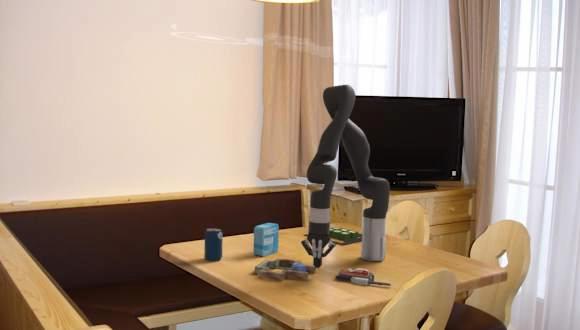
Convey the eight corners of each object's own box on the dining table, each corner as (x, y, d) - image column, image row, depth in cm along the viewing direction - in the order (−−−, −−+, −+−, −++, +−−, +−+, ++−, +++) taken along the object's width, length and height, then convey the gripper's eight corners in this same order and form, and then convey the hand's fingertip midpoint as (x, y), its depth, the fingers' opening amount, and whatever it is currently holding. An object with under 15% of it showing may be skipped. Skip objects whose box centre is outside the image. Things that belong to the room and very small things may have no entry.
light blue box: (262, 257, 239) (263, 228, 238) (253, 255, 241) (253, 226, 240) (278, 251, 249) (279, 223, 248) (269, 250, 251) (270, 222, 250)
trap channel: (319, 269, 224) (319, 262, 224) (302, 284, 205) (303, 276, 205) (270, 263, 231) (270, 256, 230) (249, 276, 212) (249, 269, 212)
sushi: (303, 236, 281) (303, 229, 281) (338, 230, 298) (339, 223, 298) (342, 247, 263) (342, 238, 263) (378, 239, 280) (378, 231, 280)
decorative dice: (290, 274, 216) (291, 264, 216) (297, 272, 219) (298, 262, 219) (299, 277, 214) (299, 266, 213) (306, 275, 216) (306, 264, 216)
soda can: (225, 259, 233) (226, 229, 232) (212, 262, 228) (212, 232, 227) (214, 256, 238) (214, 226, 237) (200, 259, 233) (201, 229, 232)
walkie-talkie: (333, 282, 210) (390, 289, 203) (333, 270, 209) (390, 277, 203) (338, 276, 218) (393, 282, 212) (339, 264, 217) (394, 270, 211)
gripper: (340, 220, 213) (337, 267, 215) (305, 216, 218) (303, 262, 219) (334, 223, 206) (332, 272, 208) (298, 219, 210) (296, 267, 212)
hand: (317, 267), depth 213 cm, fingers closed
